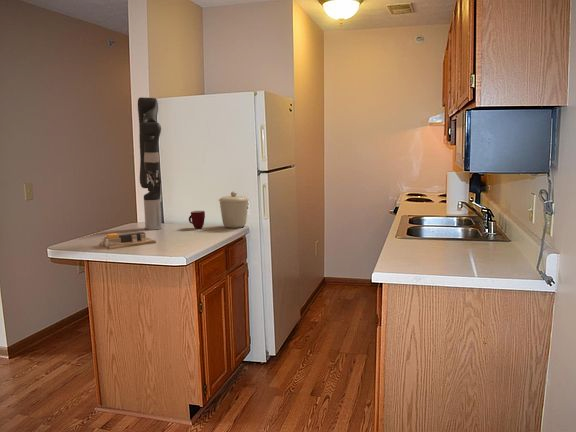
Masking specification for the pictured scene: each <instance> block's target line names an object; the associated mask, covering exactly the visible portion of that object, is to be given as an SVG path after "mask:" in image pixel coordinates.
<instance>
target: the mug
mask: <svg viewBox="0 0 576 432" xmlns="http://www.w3.org/2000/svg"><path fill="white" fill-rule="evenodd" d="M205 213H206V212H205V210H191V211H190V215H189V217H188V221H189V223H190V224H192V226H193V228H194V229H195V230H201V229H203V227H204V225H205V220H206V219H205V218H206V214H205Z"/></svg>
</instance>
